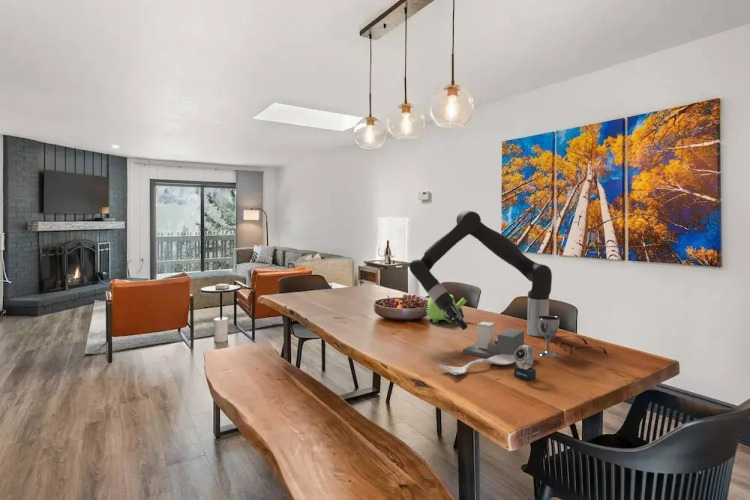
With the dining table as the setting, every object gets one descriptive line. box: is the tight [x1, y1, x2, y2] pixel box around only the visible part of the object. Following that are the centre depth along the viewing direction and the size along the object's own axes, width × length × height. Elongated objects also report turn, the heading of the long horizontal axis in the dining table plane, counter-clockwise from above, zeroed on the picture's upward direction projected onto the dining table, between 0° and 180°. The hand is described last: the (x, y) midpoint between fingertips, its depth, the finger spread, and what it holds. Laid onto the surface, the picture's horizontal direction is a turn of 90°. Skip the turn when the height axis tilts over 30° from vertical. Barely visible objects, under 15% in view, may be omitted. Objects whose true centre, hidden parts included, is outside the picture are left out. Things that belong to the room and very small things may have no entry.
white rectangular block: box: [477, 321, 496, 349], centre depth 174 cm, size 5×5×10 cm
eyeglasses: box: [552, 335, 607, 355], centre depth 177 cm, size 16×16×4 cm
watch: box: [513, 344, 537, 382], centre depth 145 cm, size 6×8×11 cm
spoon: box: [438, 354, 516, 376], centre depth 154 cm, size 9×32×4 cm, turn 117°
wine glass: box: [537, 315, 560, 358], centre depth 169 cm, size 8×8×15 cm
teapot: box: [426, 293, 468, 323], centre depth 230 cm, size 25×22×16 cm
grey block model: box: [462, 328, 525, 359], centre depth 172 cm, size 20×15×10 cm
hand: (465, 328), depth 179 cm, fingers closed
